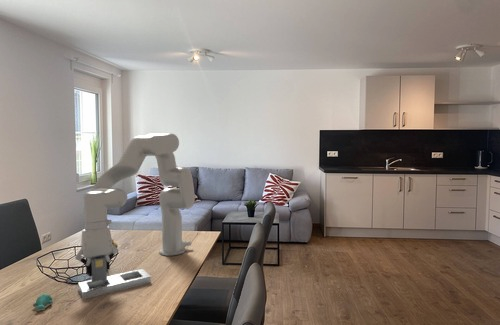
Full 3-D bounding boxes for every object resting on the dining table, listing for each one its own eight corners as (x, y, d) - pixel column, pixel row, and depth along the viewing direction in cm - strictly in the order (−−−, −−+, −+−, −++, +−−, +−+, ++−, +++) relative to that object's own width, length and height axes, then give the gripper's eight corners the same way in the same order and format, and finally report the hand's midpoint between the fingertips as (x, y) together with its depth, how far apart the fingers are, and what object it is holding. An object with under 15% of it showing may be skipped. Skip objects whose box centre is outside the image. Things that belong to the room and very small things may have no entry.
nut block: (103, 274, 130) (103, 253, 130) (107, 278, 126) (106, 257, 126) (89, 277, 127) (88, 256, 127) (92, 281, 123) (91, 260, 123)
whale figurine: (55, 301, 118) (55, 290, 118) (49, 311, 111) (49, 300, 111) (36, 303, 117) (36, 293, 117) (29, 314, 110) (28, 302, 110)
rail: (142, 274, 141) (142, 268, 141) (150, 282, 133) (150, 276, 133) (78, 289, 128) (78, 282, 127) (83, 299, 119) (82, 292, 119)
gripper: (117, 219, 133) (119, 265, 135) (68, 226, 124) (70, 275, 125) (123, 223, 127) (124, 271, 128) (71, 230, 117) (73, 282, 119)
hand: (98, 272), depth 127 cm, fingers closed on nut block, 5 cm apart
